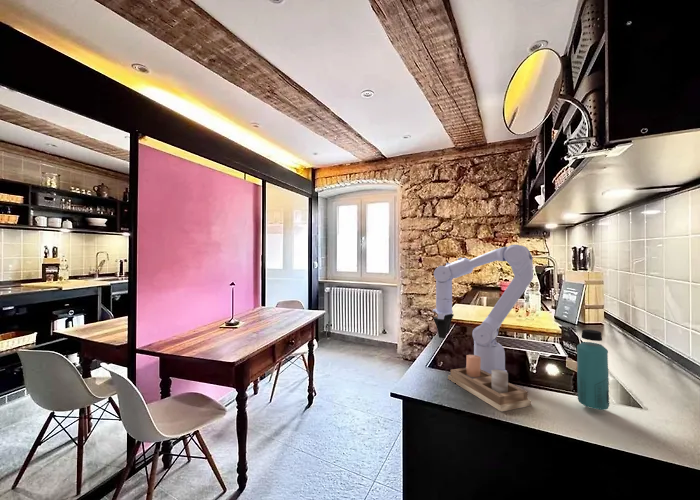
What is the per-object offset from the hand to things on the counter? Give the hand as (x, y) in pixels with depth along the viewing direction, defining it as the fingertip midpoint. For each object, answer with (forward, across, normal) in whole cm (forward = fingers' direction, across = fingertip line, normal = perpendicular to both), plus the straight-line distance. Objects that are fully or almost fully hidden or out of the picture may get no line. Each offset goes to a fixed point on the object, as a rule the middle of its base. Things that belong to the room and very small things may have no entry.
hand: (443, 335), depth 113 cm
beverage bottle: (+10, +20, +40) cm, 45 cm away
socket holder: (+9, +20, +15) cm, 27 cm away
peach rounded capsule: (+8, +17, +11) cm, 22 cm away
